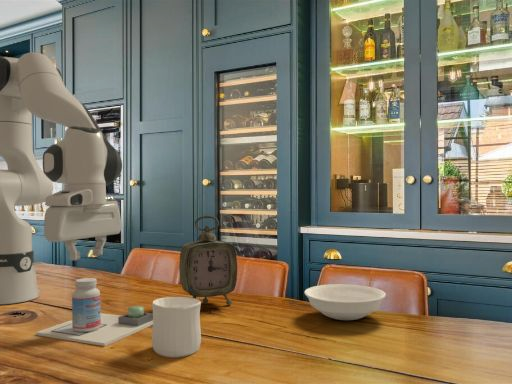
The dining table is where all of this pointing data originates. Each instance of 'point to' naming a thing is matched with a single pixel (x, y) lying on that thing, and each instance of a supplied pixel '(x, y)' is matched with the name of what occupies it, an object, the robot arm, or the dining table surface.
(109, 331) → the paper board
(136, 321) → the button housing
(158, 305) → the cup
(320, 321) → the dining table surface
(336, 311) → the bowl
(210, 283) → the tabletop clock
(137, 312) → the button
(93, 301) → the pill bottle
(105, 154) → the robot arm
